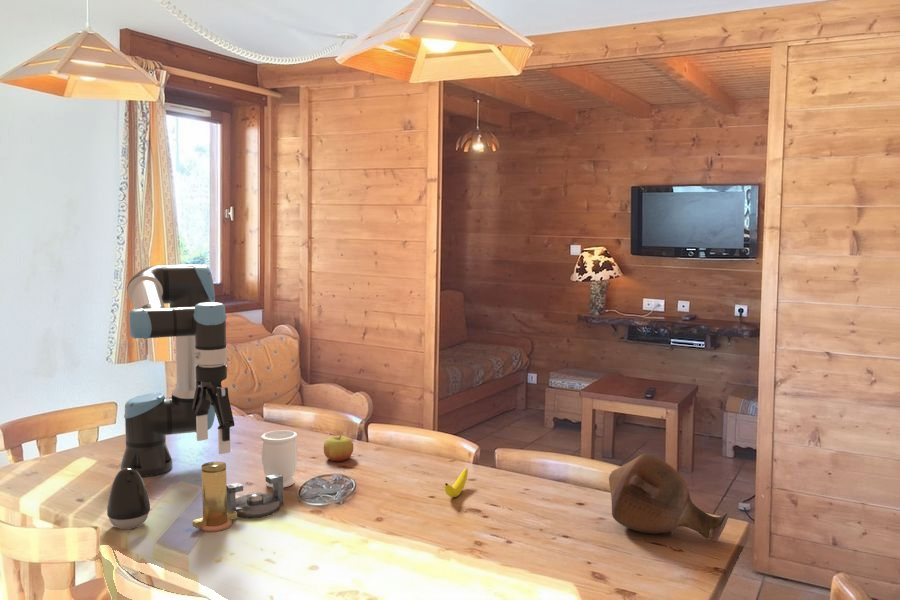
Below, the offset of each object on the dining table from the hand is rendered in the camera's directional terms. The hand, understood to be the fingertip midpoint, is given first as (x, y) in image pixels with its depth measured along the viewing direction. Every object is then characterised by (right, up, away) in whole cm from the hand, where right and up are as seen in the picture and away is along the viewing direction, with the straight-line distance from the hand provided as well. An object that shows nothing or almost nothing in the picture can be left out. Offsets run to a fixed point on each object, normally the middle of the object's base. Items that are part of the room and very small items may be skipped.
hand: (213, 446), depth 199 cm
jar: (+10, -18, +34) cm, 39 cm away
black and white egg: (-22, -21, +2) cm, 30 cm away
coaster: (0, -21, +2) cm, 21 cm away
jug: (+115, -22, -2) cm, 117 cm away
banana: (+62, -19, +26) cm, 70 cm away
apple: (+24, -15, +57) cm, 64 cm away
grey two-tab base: (+7, -20, +13) cm, 25 cm away
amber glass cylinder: (0, -20, +2) cm, 20 cm away
